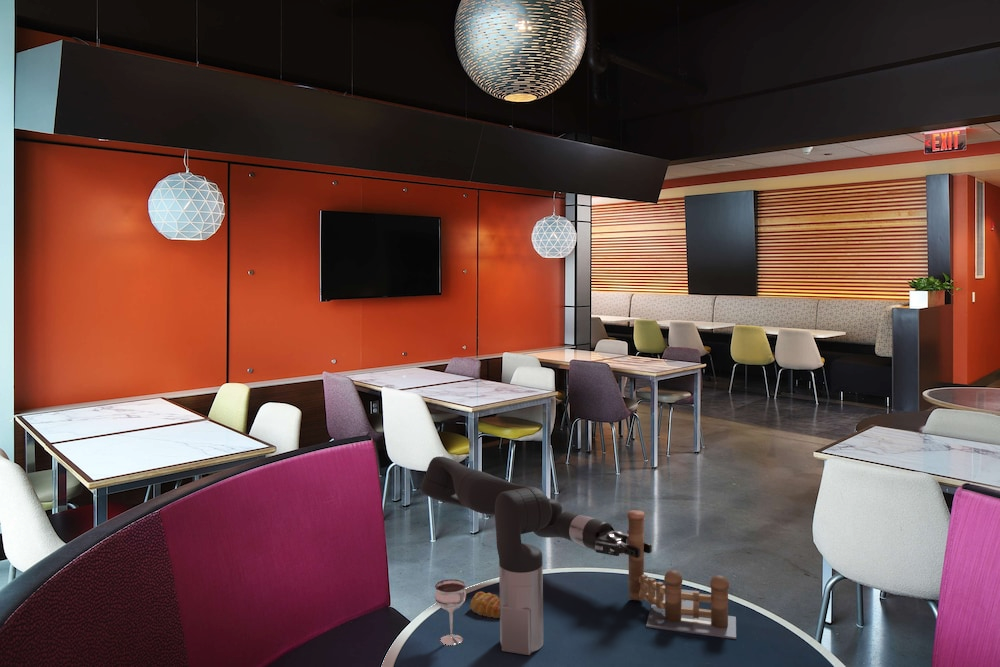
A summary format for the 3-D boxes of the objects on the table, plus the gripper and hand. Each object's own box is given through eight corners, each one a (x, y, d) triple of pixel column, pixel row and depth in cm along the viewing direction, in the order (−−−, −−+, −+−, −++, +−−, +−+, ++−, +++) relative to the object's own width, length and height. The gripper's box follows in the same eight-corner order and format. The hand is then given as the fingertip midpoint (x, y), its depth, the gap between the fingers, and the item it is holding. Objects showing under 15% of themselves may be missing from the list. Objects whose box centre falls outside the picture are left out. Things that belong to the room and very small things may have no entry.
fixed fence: (728, 631, 152) (729, 580, 151) (663, 622, 156) (663, 573, 156) (728, 623, 156) (729, 573, 155) (665, 615, 160) (665, 566, 159)
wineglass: (447, 651, 145) (446, 595, 144) (429, 639, 150) (428, 585, 150) (473, 640, 149) (472, 586, 149) (455, 629, 155) (454, 576, 154)
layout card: (736, 639, 148) (736, 636, 148) (646, 626, 154) (646, 624, 154) (735, 597, 169) (735, 595, 169) (656, 587, 175) (656, 585, 175)
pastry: (515, 612, 163) (515, 596, 163) (498, 623, 158) (498, 607, 157) (484, 602, 169) (484, 586, 168) (466, 612, 163) (466, 596, 163)
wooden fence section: (672, 609, 160) (672, 522, 159) (659, 614, 158) (659, 525, 157) (636, 591, 170) (636, 509, 169) (624, 595, 168) (624, 512, 167)
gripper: (609, 540, 183) (663, 559, 170) (572, 554, 174) (625, 574, 160) (609, 512, 182) (663, 529, 169) (571, 524, 173) (625, 543, 160)
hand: (644, 551), depth 165 cm, fingers closed on wooden fence section, 3 cm apart
